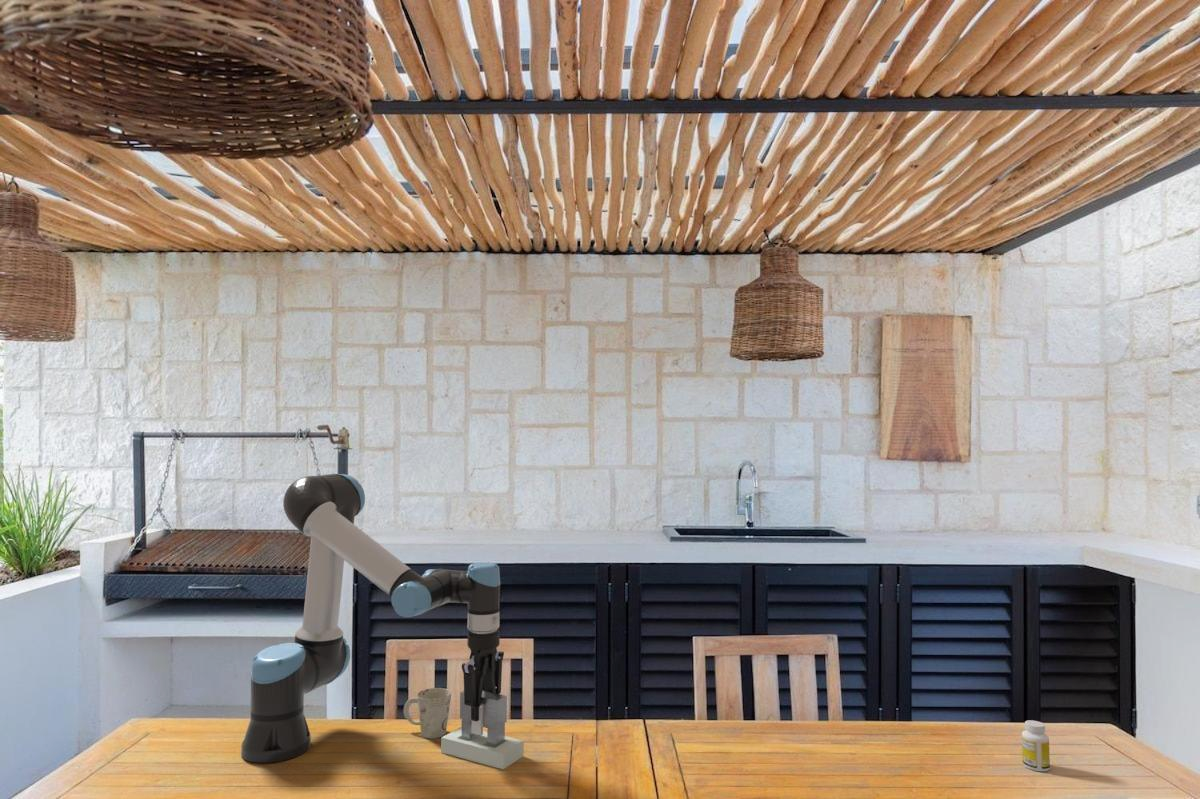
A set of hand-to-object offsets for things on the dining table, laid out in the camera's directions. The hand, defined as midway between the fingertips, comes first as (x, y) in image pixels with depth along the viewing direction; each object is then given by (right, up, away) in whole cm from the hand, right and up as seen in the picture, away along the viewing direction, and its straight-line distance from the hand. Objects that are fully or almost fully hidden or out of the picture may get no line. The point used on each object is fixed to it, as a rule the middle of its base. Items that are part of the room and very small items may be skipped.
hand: (482, 730), depth 176 cm
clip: (0, -2, 0) cm, 2 cm away
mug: (-16, -6, +12) cm, 21 cm away
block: (0, -5, 0) cm, 5 cm away
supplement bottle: (+127, -6, -5) cm, 128 cm away
